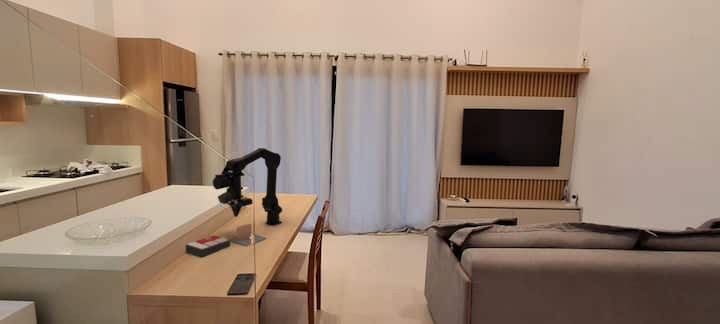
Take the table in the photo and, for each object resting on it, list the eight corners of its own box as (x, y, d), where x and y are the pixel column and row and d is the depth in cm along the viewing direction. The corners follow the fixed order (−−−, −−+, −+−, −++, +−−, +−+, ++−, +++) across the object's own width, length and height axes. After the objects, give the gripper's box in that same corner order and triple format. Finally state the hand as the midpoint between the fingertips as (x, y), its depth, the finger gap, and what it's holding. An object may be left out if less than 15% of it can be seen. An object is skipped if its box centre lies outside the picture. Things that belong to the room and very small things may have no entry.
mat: (248, 233, 172) (248, 232, 172) (266, 238, 165) (266, 237, 165) (228, 240, 162) (228, 239, 162) (246, 246, 155) (246, 245, 155)
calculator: (230, 238, 155) (201, 248, 142) (230, 248, 156) (201, 258, 142) (214, 234, 160) (185, 243, 147) (214, 243, 161) (185, 252, 148)
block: (248, 235, 168) (248, 223, 167) (251, 235, 167) (251, 224, 166) (237, 239, 162) (236, 227, 162) (239, 240, 161) (239, 228, 161)
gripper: (208, 186, 163) (209, 217, 165) (233, 191, 153) (234, 224, 155) (228, 182, 172) (229, 211, 174) (252, 187, 162) (253, 218, 164)
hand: (236, 216), depth 167 cm, fingers closed
